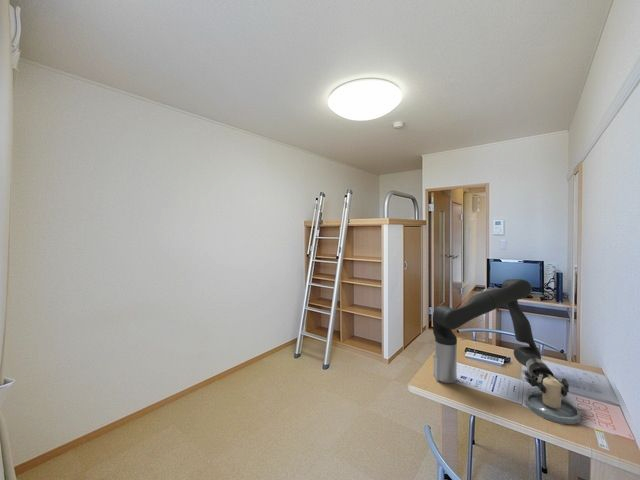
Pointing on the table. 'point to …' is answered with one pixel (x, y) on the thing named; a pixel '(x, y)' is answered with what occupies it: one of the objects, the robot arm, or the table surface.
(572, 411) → the dish
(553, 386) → the candle
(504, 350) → the table surface
